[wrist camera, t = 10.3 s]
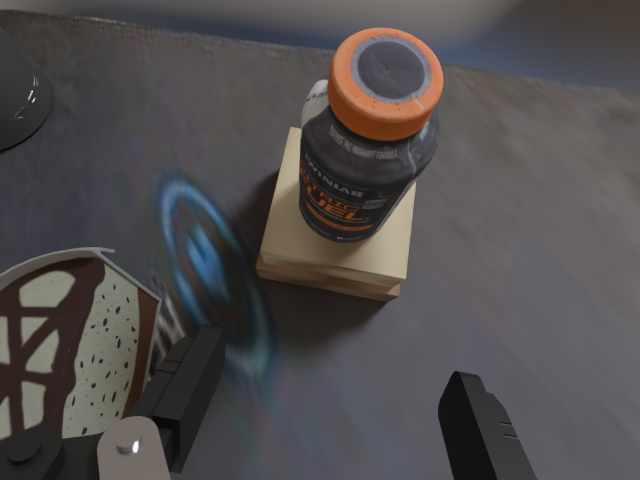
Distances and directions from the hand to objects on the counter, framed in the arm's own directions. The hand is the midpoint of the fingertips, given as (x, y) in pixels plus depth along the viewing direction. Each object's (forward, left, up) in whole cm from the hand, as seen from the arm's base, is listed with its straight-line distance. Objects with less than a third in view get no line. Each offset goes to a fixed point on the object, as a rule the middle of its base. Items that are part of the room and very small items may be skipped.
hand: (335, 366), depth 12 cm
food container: (-14, -3, -14) cm, 20 cm away
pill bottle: (0, +10, -8) cm, 13 cm away
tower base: (0, +10, -14) cm, 17 cm away
